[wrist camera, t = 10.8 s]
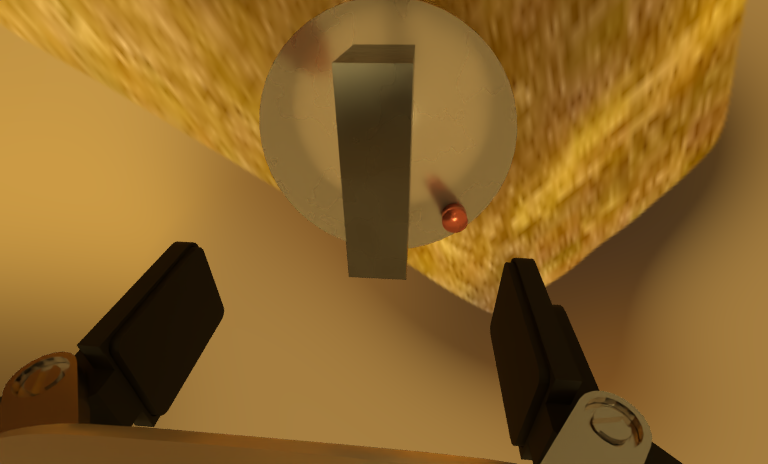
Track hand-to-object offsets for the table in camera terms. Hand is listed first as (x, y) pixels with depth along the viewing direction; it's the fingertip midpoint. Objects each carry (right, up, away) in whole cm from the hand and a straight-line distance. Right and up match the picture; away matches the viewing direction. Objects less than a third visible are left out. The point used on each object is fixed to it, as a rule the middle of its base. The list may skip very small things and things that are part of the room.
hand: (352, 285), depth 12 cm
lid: (+1, +8, +13) cm, 15 cm away
